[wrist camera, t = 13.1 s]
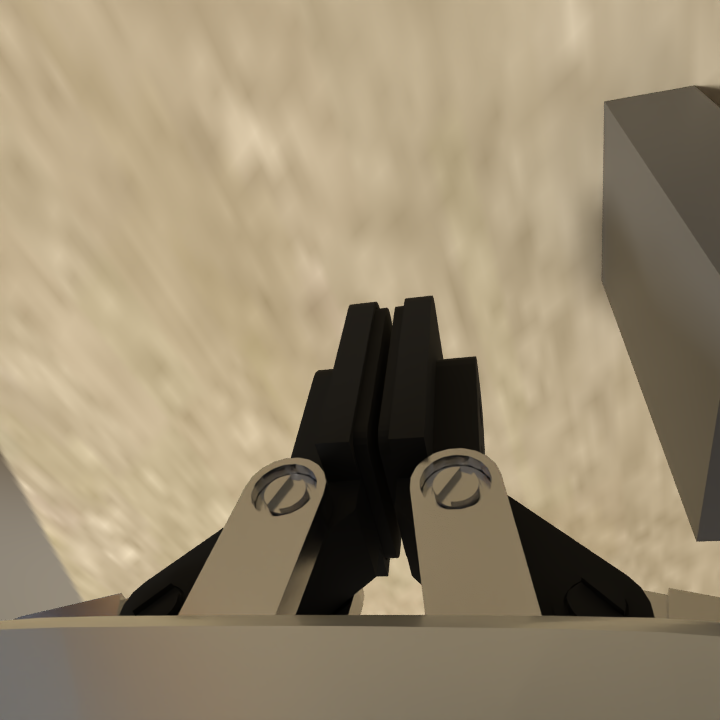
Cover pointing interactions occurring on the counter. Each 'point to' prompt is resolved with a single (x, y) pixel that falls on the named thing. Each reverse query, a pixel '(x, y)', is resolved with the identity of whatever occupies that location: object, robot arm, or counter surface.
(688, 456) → the domino
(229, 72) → the counter surface
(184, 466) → the counter surface
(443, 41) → the counter surface
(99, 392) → the counter surface
